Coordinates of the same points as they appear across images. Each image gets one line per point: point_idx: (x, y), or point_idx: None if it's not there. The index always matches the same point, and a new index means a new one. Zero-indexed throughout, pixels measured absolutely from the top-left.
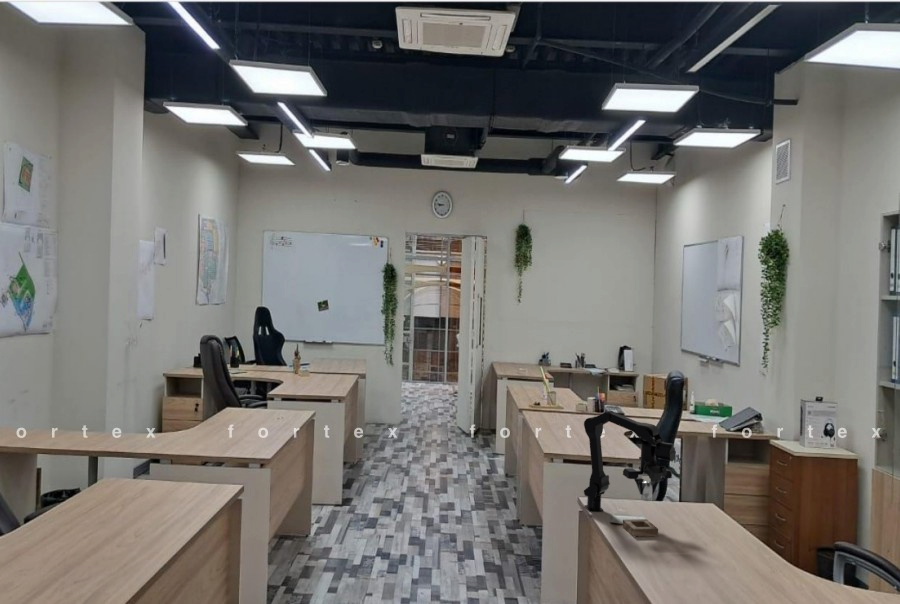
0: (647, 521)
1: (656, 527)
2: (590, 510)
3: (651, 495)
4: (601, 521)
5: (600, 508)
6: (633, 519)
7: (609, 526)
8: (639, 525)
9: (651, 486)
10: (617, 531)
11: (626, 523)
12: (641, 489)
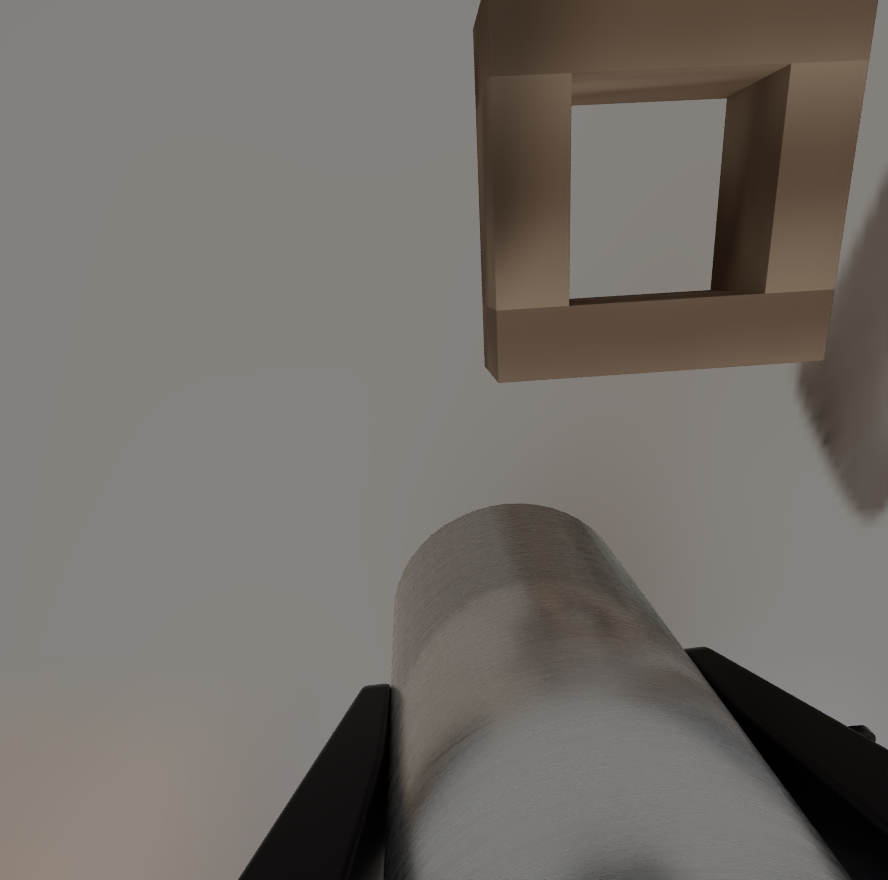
0: (522, 298)
1: (490, 42)
2: (866, 732)
3: (452, 595)
4: (885, 507)
5: None
6: (682, 366)
7: (880, 376)
8: (609, 299)
9: (517, 859)
10: (875, 229)
11: (836, 237)
12: (834, 743)
